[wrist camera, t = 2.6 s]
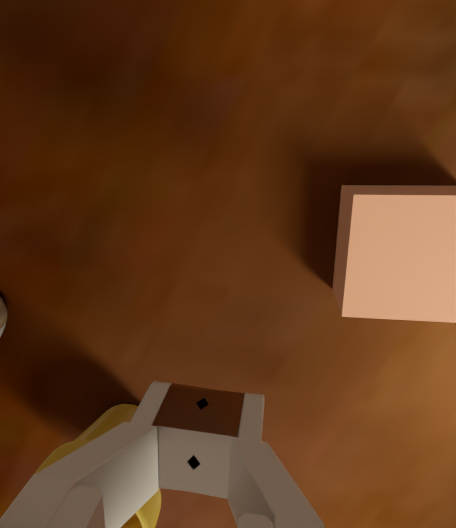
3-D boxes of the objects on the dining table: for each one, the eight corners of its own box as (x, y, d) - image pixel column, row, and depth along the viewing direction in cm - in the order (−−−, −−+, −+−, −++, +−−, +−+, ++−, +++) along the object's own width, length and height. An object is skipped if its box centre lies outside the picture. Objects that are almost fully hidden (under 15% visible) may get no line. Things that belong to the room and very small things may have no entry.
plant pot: (88, 372, 35) (18, 456, 26) (192, 404, 34) (159, 501, 25) (77, 452, 38) (13, 551, 29) (172, 482, 38) (136, 592, 29)
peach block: (341, 184, 26) (353, 194, 22) (460, 185, 25) (501, 195, 21) (332, 287, 29) (341, 316, 24) (440, 292, 28) (472, 323, 23)
